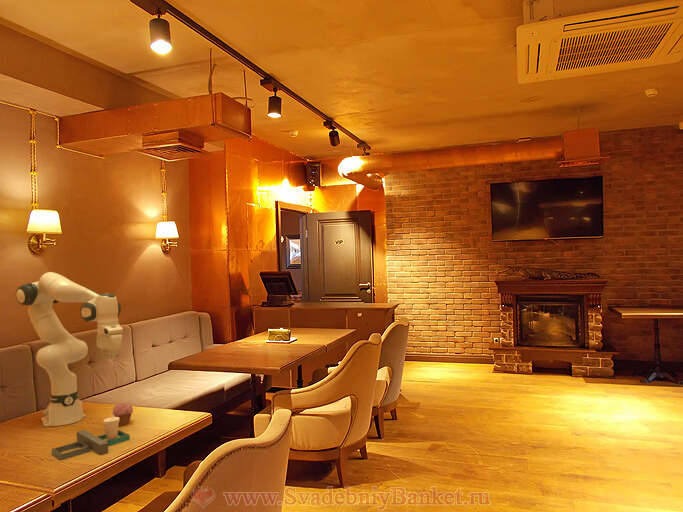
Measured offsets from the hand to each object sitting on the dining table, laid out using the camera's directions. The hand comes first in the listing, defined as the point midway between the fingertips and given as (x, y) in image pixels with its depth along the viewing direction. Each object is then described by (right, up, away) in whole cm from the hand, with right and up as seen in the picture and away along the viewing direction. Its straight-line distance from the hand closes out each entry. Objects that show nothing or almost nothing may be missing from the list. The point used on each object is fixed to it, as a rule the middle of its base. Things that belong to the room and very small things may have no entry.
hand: (109, 359), depth 220 cm
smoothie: (+8, -33, -13) cm, 36 cm away
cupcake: (+2, -34, +10) cm, 35 cm away
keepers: (+1, -33, -18) cm, 37 cm away
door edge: (+1, -33, -18) cm, 37 cm away
